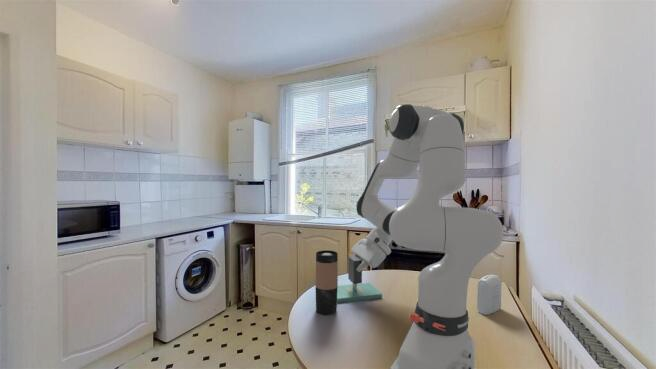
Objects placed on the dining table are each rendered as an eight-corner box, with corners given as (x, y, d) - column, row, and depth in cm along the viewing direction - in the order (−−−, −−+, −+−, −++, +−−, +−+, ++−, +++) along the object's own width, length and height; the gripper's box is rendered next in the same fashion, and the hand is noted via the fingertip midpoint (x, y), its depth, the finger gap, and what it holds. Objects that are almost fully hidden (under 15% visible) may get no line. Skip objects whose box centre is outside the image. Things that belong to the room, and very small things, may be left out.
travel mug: (341, 308, 99) (341, 252, 99) (329, 317, 93) (330, 257, 92) (323, 303, 103) (323, 249, 103) (310, 311, 97) (311, 253, 96)
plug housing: (361, 283, 110) (362, 260, 110) (353, 283, 109) (353, 260, 109) (356, 277, 116) (356, 256, 115) (348, 278, 115) (348, 256, 114)
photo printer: (490, 304, 104) (491, 271, 104) (502, 309, 100) (503, 274, 100) (475, 311, 98) (475, 276, 98) (487, 316, 94) (488, 280, 94)
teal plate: (382, 297, 109) (382, 283, 109) (337, 302, 104) (337, 288, 104) (369, 286, 120) (369, 273, 120) (328, 290, 116) (329, 277, 116)
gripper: (361, 231, 124) (340, 255, 121) (382, 242, 104) (357, 270, 102) (370, 241, 125) (349, 264, 123) (393, 253, 105) (369, 281, 103)
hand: (353, 267), depth 112 cm, fingers closed on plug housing, 6 cm apart
